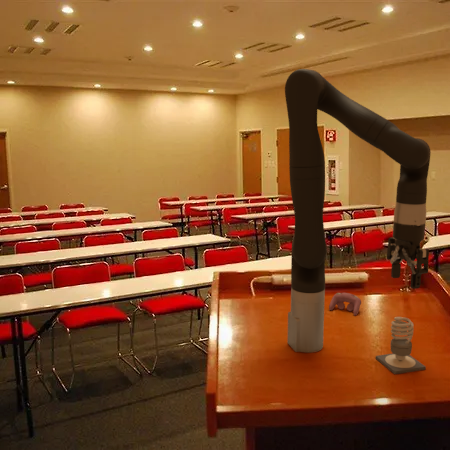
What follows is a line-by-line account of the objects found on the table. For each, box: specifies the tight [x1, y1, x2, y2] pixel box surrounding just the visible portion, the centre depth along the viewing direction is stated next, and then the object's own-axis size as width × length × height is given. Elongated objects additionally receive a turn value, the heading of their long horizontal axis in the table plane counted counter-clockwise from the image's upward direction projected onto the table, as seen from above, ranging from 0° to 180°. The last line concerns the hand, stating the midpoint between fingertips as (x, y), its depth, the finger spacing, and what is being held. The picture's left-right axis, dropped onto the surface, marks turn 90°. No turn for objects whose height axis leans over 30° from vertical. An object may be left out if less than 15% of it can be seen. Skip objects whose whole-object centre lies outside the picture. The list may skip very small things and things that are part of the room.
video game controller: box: [328, 292, 362, 316], centre depth 177 cm, size 10×5×7 cm, turn 58°
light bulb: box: [390, 316, 415, 361], centre depth 139 cm, size 6×6×12 cm
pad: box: [375, 352, 427, 375], centre depth 140 cm, size 9×9×1 cm
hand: (405, 282), depth 136 cm, fingers open, 8 cm apart
